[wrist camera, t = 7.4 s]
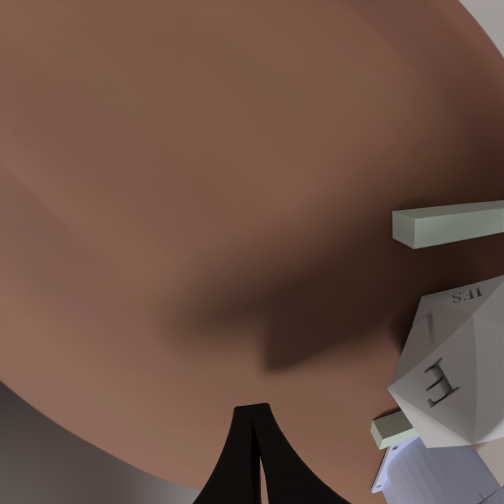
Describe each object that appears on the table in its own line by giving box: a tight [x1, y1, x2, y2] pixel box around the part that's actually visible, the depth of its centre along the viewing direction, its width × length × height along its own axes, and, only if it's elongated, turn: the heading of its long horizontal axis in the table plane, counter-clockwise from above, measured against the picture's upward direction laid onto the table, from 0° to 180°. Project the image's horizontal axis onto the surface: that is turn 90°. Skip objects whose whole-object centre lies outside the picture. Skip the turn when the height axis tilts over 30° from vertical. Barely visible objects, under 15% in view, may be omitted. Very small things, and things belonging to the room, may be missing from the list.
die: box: [388, 275, 504, 448], centre depth 10 cm, size 8×9×10 cm
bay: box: [370, 200, 504, 450], centre depth 13 cm, size 14×12×2 cm
